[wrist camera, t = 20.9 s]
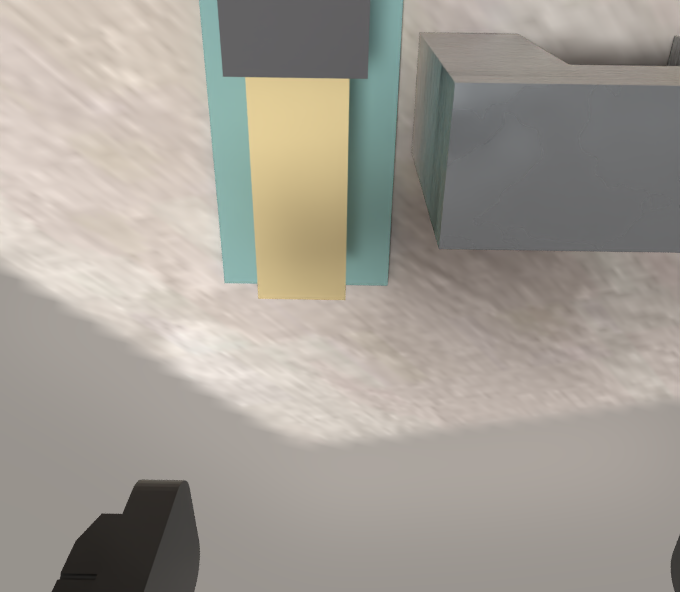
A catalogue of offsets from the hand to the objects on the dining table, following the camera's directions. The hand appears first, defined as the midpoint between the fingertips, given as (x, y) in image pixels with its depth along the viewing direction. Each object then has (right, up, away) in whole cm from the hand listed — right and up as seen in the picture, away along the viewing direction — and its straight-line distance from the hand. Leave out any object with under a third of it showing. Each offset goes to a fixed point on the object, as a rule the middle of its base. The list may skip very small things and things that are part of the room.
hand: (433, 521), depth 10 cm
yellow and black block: (-3, +11, +17) cm, 20 cm away
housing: (+9, +12, +17) cm, 23 cm away
